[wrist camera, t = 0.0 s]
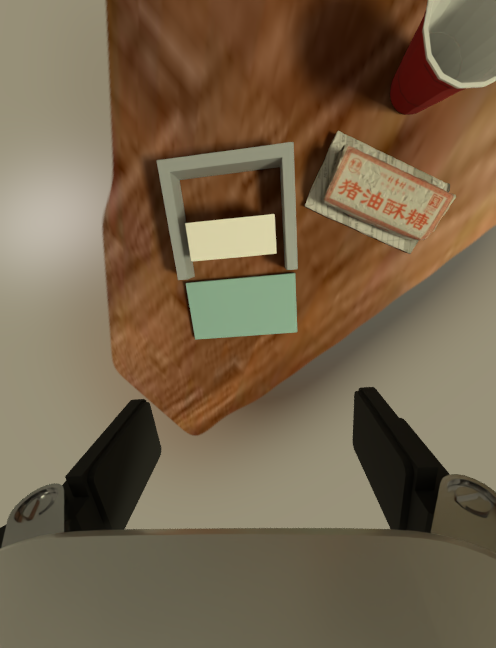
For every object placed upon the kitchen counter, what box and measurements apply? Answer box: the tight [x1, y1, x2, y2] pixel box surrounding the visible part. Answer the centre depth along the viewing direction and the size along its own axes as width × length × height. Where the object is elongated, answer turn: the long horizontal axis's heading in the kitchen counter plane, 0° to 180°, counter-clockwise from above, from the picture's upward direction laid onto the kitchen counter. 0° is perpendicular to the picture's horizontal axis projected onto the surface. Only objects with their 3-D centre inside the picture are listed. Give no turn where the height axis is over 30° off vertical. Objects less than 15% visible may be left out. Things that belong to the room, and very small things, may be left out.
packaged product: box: [305, 131, 456, 254], centre depth 33 cm, size 18×5×10 cm
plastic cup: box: [390, 0, 496, 115], centre depth 26 cm, size 11×11×12 cm
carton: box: [185, 214, 277, 261], centre depth 35 cm, size 5×12×6 cm, turn 95°
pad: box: [186, 273, 297, 339], centre depth 41 cm, size 10×18×1 cm, turn 96°
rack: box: [157, 142, 298, 280], centre depth 35 cm, size 16×18×4 cm
